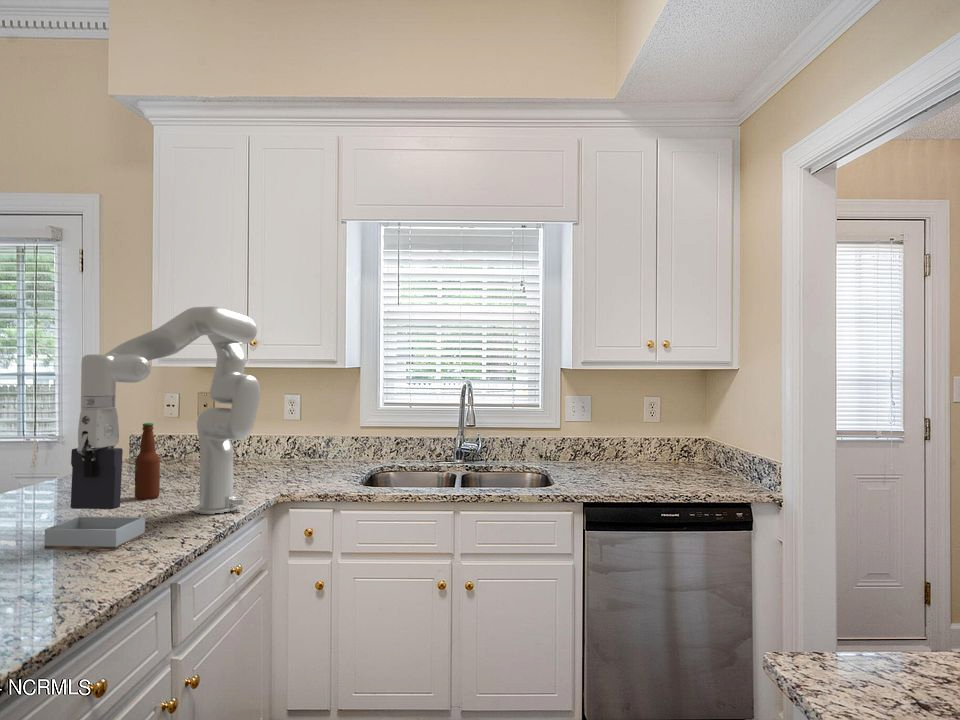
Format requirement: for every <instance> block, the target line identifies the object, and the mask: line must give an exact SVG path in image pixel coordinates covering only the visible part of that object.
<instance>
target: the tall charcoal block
mask: <svg viewBox="0 0 960 720" xmlns="http://www.w3.org/2000/svg"><path fill="white" fill-rule="evenodd" d="M77 448H78V447H77ZM77 448H72V449H71V454H70V455H71V457H70V465H71V467H72V468H71V470H72V471H71V489H70V509H74V510H77V509H80V510H82V509H83V510H115V509H118V508H120V507H121V499H122V497H121V495H122V493H121V492H122V475H123V474H122V472H123V470H122V468H123V448H120V447H114V448H102V449H98V451H97V458H96V461H98V476H97V477H84V461H83V457H82V456H81V454H79V453H78V452H77ZM90 453H91V454H92V451H90Z"/></svg>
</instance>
